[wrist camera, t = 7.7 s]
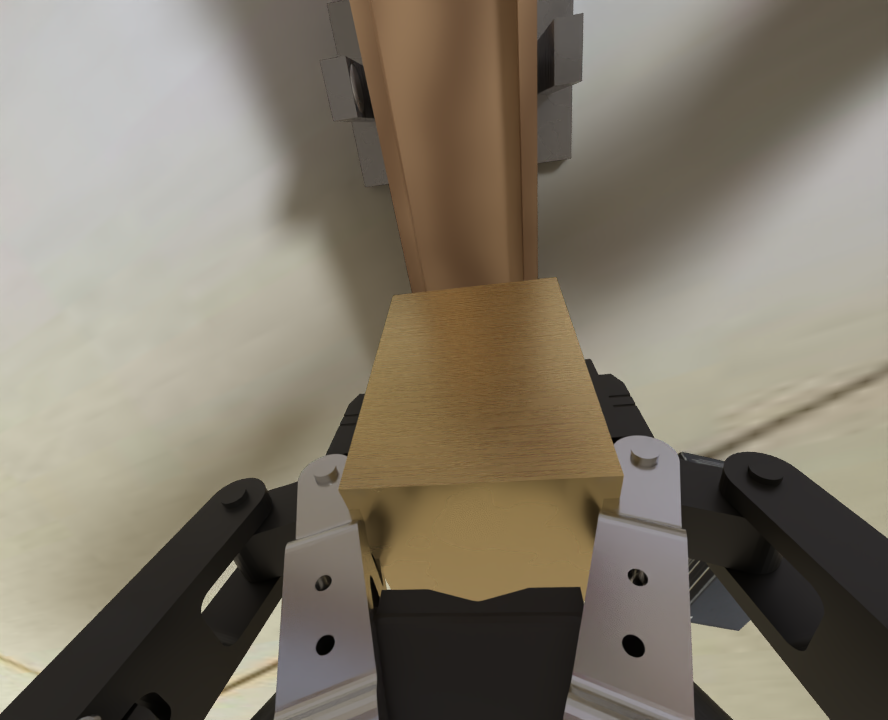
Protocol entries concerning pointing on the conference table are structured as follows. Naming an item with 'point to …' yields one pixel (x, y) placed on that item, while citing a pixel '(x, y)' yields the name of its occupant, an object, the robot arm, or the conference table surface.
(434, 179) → the beam
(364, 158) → the pivot stand
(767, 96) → the conference table surface
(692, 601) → the small box
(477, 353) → the wooden block
